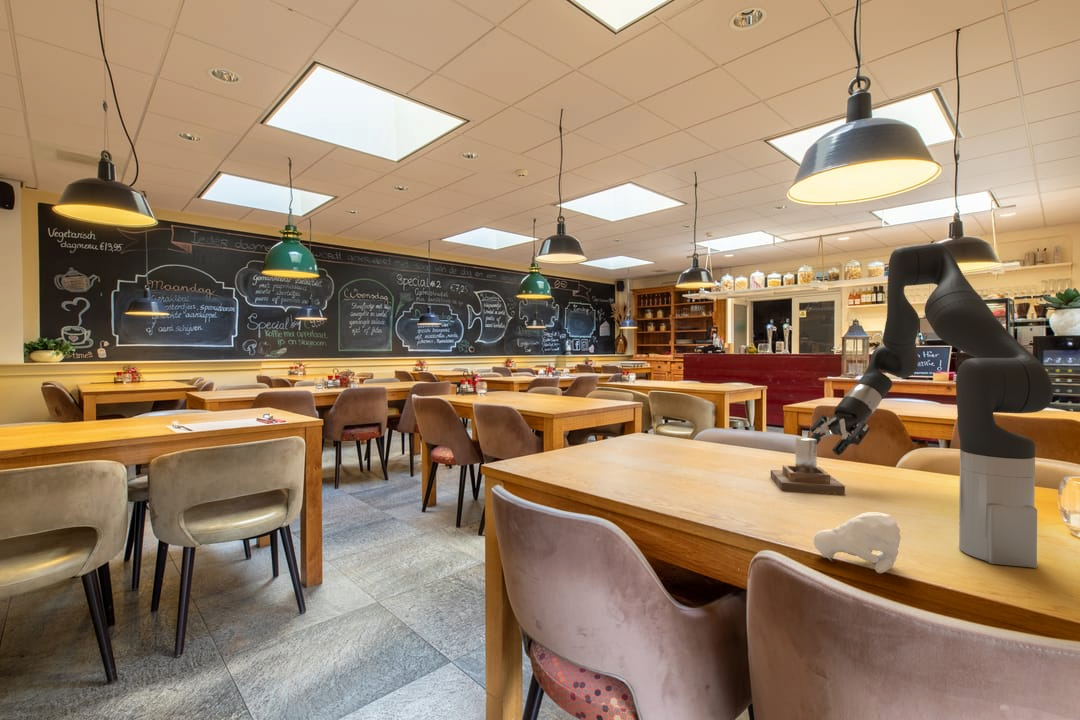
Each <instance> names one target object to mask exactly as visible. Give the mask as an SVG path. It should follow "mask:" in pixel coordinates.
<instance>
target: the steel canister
mask: <svg viewBox="0 0 1080 720" xmlns="http://www.w3.org/2000/svg"><path fill="white" fill-rule="evenodd" d="M817 445H818V444H817V440H816V439H812V438H811V437H796V438H795V466H796V472H800V473H817V467H818V466H817V463H818V461H817V459H818V458H817V457H818V456H817V455H818V453H817V452H818V451H817V449H818V448H817Z"/></svg>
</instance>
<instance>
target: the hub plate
mask: <svg viewBox="0 0 1080 720" xmlns="http://www.w3.org/2000/svg"><path fill="white" fill-rule="evenodd" d="M770 478H771V479H772V480H774V481H773V482H774V483H775V485H777V487H778V486H779V487H778V488H779V489H780V490H781V491H783V492H784V491H786V492H799V493H812V492H814V493H813V494H827V493H836V494H835V495H842V494H845V495H846V486H845V485H844V484H843V483H842V482H840V481H838V480H837V479H835V477H833V476H832V475H831V474H829V473H828V472H827V471H825V470H824V469H822V468H821V466H817V473H800V472H796V465H790V464H789V465H788V464H786V465H785V464H782V470H781V469H780V470H779V469H770Z"/></svg>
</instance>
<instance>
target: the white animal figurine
mask: <svg viewBox="0 0 1080 720" xmlns="http://www.w3.org/2000/svg"><path fill="white" fill-rule="evenodd" d="M900 532H901V530H900V528H899V526H898V523H897V522H896V520H895V519H894V518H893V517H892V516H891V515H890V514H888V513H882V512H880V511H879V512H878V511H877V512H876V511H868V512H863V513H859V514H858V515H857V516H853V517H851V518H849V519H848V520H847V521H846V522H843V523H841V524H840V525H839V526H837V527H834V528H832V529H823V530H819V531H817V532H815V534H814V537H813V544H814V547H815V549H816V550H817V551H818V552H819V553H820V554H821V556H822V557H823V559H825V558H826V559H828V560H830V561H833V560H834V559H833V558H834V556H835V554H837V553H844V554H848V555H850V556H855V557H859V559H862V560H864V561H866V562H868V563H870V564H875V572H876V573H877V574H884V573H885V572H887V571H888V570H890V568H892V567H893V566H894V565H895V562H897V561H896V560H897V557H898V554H899V547H900V543H901V539H902V538H901V537H902V536H901V533H900ZM873 551H876V552H878V553H876V554H873ZM879 552H880V553H879ZM832 559H833V560H832Z"/></svg>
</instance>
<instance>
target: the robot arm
mask: <svg viewBox="0 0 1080 720" xmlns="http://www.w3.org/2000/svg"><path fill="white" fill-rule="evenodd" d="M887 267H888V269H887V291H886V293H887V294H886V300H887V301H886V305H887V307H886V310H887V311H886V321H885V325H884V328H883V329H884V330H883V335H882V344H883V345H880V346H877V347H876V348H875V349H874V350H873V352H872V354H871V356H870V359H869V362H868V364H867V366H866V367H867V368H866V370H865V372H864V373H863V375H862V377H860V379H859V380H858V381H857V382H856V383H855V385H854V386H853V387H852V388H851V389H849V391H847V393H846V394H845V395H844V397H843V398H842V399H841V401H839V403H838V404H837V405H836V407H835V408H834V414H833V415H832V416H831V417H827V416H826V415H825V414H821V416H819V418H817V420H816V421H815V422H814V424H813V425H812V426H811V427H810V428H809V431H810V432H811V433H812V435H811V436H810V438H812V439H816V440H817V445H818V444H819V443H820V442H821V440H822V439H824V438H826V437H831V436H833V435H835V436H836V435H838V436H841V438H839V440H838V441H837V442H836V443H835V445H834V447H833V448H832V452H833V453H834V454H835V456H841V454H843V453H844V452H845V451H846V450H847V448H849V446H852V445H855V446H858V445H860V444H861V443H862V441H863V440H864V438H865V437H866V436H867V435H868V433H869V431H870V430H871V428H870V427H869V425H868V424H867V423H866V422H867V421H868V420H869V419H870V417H871V416H872V415H873V413H874V412H875V411H876V410H877V409H878V407H879V405H880V403H881V402H882V400H883V399H884V398H885V397H886V396H887V394H888V393H889V392H890V390H891V389H892V387H893V381H892V379H891V378H890V377H888V375H886V374H889V375H892V376H893V377H897V378H900V379H906V378H909V377H911V376H913V375H914V374H915V372H916V371H917V370H918V365H919V356H918V354H919V353H918V349H917V343H916V341H917V337H918V334H919V330H920V325H921V324H920V316H919V314H918V312H917V310H916V309H915V308H914V307H913V305H912V304H911V302H909V300H908V298H907V297H906V295H905V288H906V287H907V286H908V287H909V286H920V285H921V286H922V285H937V286H936V287H935V289H933V291H932V292H931V294H930V295H929V297H928V298H927V300H926V301H925V305H924V315H925V316H924V317H925V319H926V320H927V322H928V324H929V325H930V327H931V328H932V330H933V331H934V334H935V335H936V336H937V337H938V338H939V339H940V340H941V341H942V342H944V343H946V344H948V345H949V346H951V347H953V348H954V349H957V350H959V351H960V352H963V353H965V354H967V355H969V356H971V357H972V358H971V357H970V358H967V359H965V360H963V361H962V362H961V364H960V365H959V367H958V369H957V371H956V372H957V373H956V376H955V396H956V397H955V399H956V407H957V408H956V409H957V410H956V411H957V431H958V437H959V494H958V495H959V499H958V500H959V508H958V509H959V511H958V512H959V513H958V514H959V515H958V520H959V522H958V526H959V528H958V529H959V530H958V531H959V532H958V535H959V536H958V538H959V539H958V540H959V541H958V544H959V545H958V548H959V550H960V551H962V552H963V553H965V554H967V555H968V556H970V557H971V556H972V557H974V558H976V559H979V560H982V561H985V562H987V563H989V564H991V565H992V564H993V565H1001V566H1002V565H1003V566H1011V567H1012V566H1013V567H1022V568H1023V567H1024V568H1032V569H1033V568H1035V569H1036V568H1038V565H1037V564H1038V563H1037V562H1038V561H1037V560H1038V509H1037V508H1036V507H1035V494H1036V493H1035V489H1036V488H1035V486H1036V485H1035V484H1036V483H1035V482H1036V481H1035V479H1036V478H1035V477H1036V475H1035V474H1036V444H1035V441H1034V440H1032V439H1031V437H1030V438H1029V437H1027V436H1024V435H1021V434H1018V433H1015V432H1012V431H1008V430H1006V429H1004V428H1003V427H1001V426H999V425H998V424H997V423H996V421H995V416H994V413H995V414H997V413H998V414H1032V413H1039V412H1041V411H1043V410H1046V408H1048V407H1049V406H1050V404H1051V403H1052V401H1053V397H1054V388H1053V387H1054V386H1053V382H1052V379H1051V377H1050V374H1049V373H1048V371H1047V370H1046V368H1045V367H1044V365H1043V364H1042V362H1040V361H1039V359H1038V358H1036V357H1035V356H1034V355H1033V354H1032V353H1031V352H1030V351H1029V350H1027V348H1026V347H1025V346H1024V345H1022V344H1021V343H1020V342H1019V341H1018V340H1017V339H1015V337H1014V336H1013V335H1012V334H1011V333H1010V332H1009V331H1008V330H1007V328H1005V326H1004V325H1003V324H1002V323H1001V322H1000V321H999V319H998V318H997V317H996V315H995V314H994V313H993V311H992V310H991V308H990V307H989V306H988V305H987V303H986V302H985V300H984V299H983V298H982V296H981V295H980V294H979V293H978V292H977V291H976V290H975V289H974V288H973V286H972V285H971V283H970V281H968V280H967V278H966V277H965V275H964V274H963V272H962V270H961V268H960V266H959V264H958V262H957V260H956V259H955V257H954V255H953V253H952V251H951V250H950V248H948V247H947V246H946V244H944V243H938V242H932V243H921V244H914V245H905V246H899V247H897V248H895V249H893V251H892V252H891V253H890V256H889V261H888V266H887ZM885 373H886V374H885Z"/></svg>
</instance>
